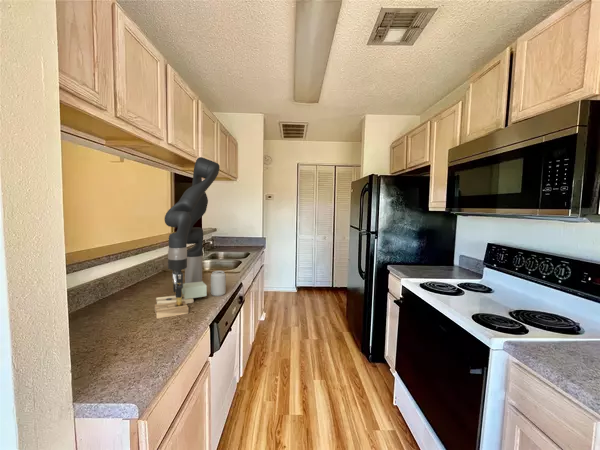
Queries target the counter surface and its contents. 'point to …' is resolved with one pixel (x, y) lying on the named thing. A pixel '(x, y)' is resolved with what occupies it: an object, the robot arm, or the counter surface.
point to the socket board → (170, 309)
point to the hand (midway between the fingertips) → (177, 294)
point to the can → (218, 283)
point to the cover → (194, 290)
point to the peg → (178, 302)
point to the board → (172, 299)
